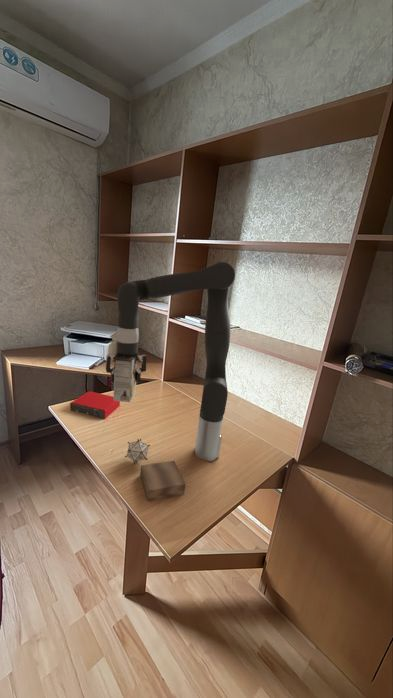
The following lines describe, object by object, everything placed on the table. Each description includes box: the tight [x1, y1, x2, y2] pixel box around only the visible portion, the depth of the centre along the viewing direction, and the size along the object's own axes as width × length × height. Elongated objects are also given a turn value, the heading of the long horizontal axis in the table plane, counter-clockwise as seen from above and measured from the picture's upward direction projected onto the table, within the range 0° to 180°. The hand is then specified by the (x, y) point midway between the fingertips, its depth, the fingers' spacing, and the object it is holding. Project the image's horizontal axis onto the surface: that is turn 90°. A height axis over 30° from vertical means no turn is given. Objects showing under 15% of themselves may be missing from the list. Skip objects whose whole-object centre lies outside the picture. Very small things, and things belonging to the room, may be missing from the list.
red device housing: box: [69, 390, 121, 420], centre depth 141 cm, size 18×14×5 cm
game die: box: [124, 438, 151, 464], centre depth 105 cm, size 9×8×10 cm
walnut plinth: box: [139, 460, 186, 502], centre depth 97 cm, size 12×12×4 cm
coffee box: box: [113, 357, 138, 403], centre depth 106 cm, size 9×6×16 cm
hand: (125, 382), depth 107 cm, fingers closed on coffee box, 8 cm apart
